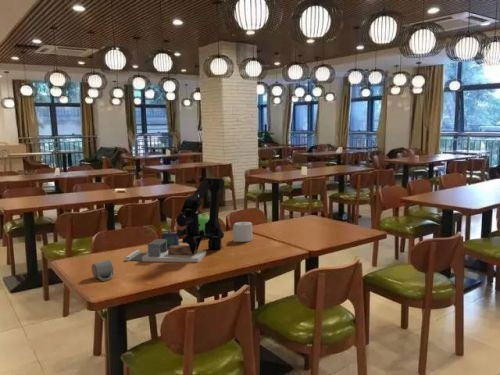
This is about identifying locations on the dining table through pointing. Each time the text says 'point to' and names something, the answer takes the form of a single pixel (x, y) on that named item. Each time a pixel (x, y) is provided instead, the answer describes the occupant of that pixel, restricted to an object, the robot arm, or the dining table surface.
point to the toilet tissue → (242, 232)
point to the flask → (171, 238)
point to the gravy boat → (203, 221)
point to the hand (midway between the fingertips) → (194, 252)
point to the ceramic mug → (102, 270)
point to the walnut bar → (180, 250)
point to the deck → (165, 257)
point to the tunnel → (157, 247)
